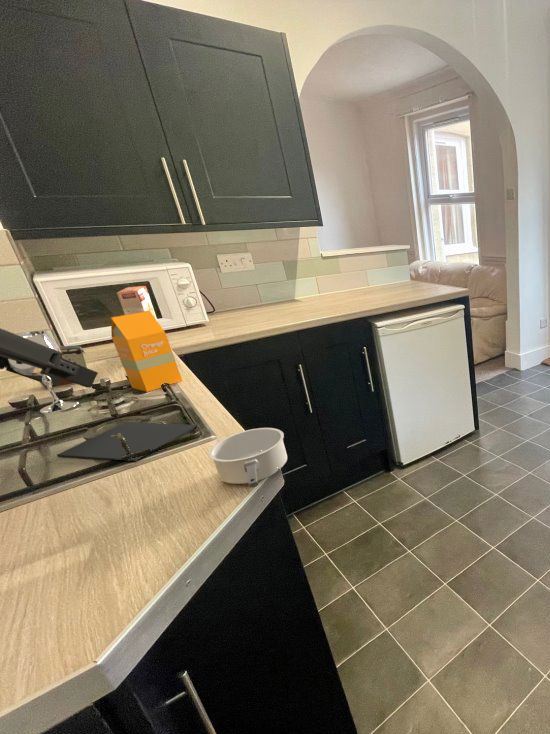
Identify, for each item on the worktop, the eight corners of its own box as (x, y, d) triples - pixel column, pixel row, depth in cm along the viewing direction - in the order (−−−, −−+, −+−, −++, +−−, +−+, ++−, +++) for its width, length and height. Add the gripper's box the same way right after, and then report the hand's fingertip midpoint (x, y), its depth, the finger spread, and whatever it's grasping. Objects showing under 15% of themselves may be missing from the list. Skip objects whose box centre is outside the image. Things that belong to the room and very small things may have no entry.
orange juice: (182, 380, 119) (158, 311, 112) (147, 392, 112) (118, 318, 104) (166, 376, 122) (141, 309, 115) (131, 387, 115) (102, 316, 107)
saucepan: (218, 527, 62) (206, 497, 60) (218, 465, 77) (209, 439, 75) (302, 499, 68) (294, 470, 65) (286, 446, 83) (280, 421, 81)
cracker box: (159, 349, 148) (138, 290, 140) (138, 352, 146) (114, 292, 138) (166, 340, 160) (146, 285, 152) (146, 343, 157) (125, 286, 149)
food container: (99, 374, 126) (85, 342, 122) (97, 379, 122) (83, 346, 118) (40, 385, 119) (24, 351, 115) (37, 391, 115) (19, 356, 111)
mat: (57, 456, 82) (56, 454, 82) (128, 423, 95) (127, 421, 95) (136, 462, 79) (135, 460, 79) (197, 427, 92) (196, 425, 92)
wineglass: (34, 407, 67) (-3, 335, 63) (83, 396, 71) (52, 328, 67) (33, 418, 64) (-6, 342, 59) (84, 406, 67) (51, 334, 63)
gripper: (-225, 327, 48) (16, 398, 69) (-94, 329, 46) (114, 402, 67) (-179, 274, 51) (39, 358, 72) (-54, 273, 48) (134, 360, 70)
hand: (75, 379), depth 69 cm, fingers closed on wineglass, 6 cm apart
